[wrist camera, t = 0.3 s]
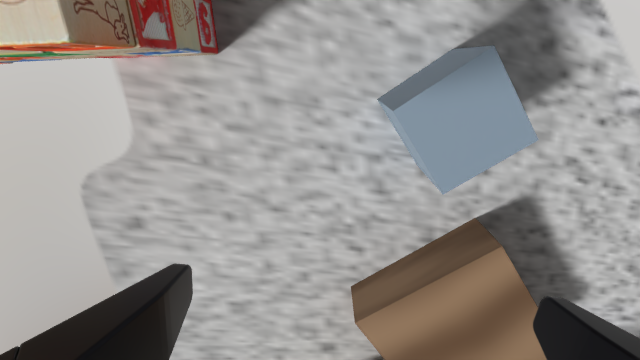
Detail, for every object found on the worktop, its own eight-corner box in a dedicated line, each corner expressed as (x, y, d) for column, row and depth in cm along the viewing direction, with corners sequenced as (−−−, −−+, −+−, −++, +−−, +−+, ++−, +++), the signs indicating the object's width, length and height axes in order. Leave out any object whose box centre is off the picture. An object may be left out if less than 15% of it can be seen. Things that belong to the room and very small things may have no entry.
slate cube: (489, 121, 20) (538, 139, 16) (416, 165, 21) (443, 194, 17) (452, 49, 19) (494, 45, 14) (376, 99, 20) (393, 111, 15)
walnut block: (530, 313, 26) (566, 356, 22) (415, 366, 28) (430, 415, 24) (473, 215, 23) (502, 246, 19) (350, 283, 25) (355, 323, 21)
